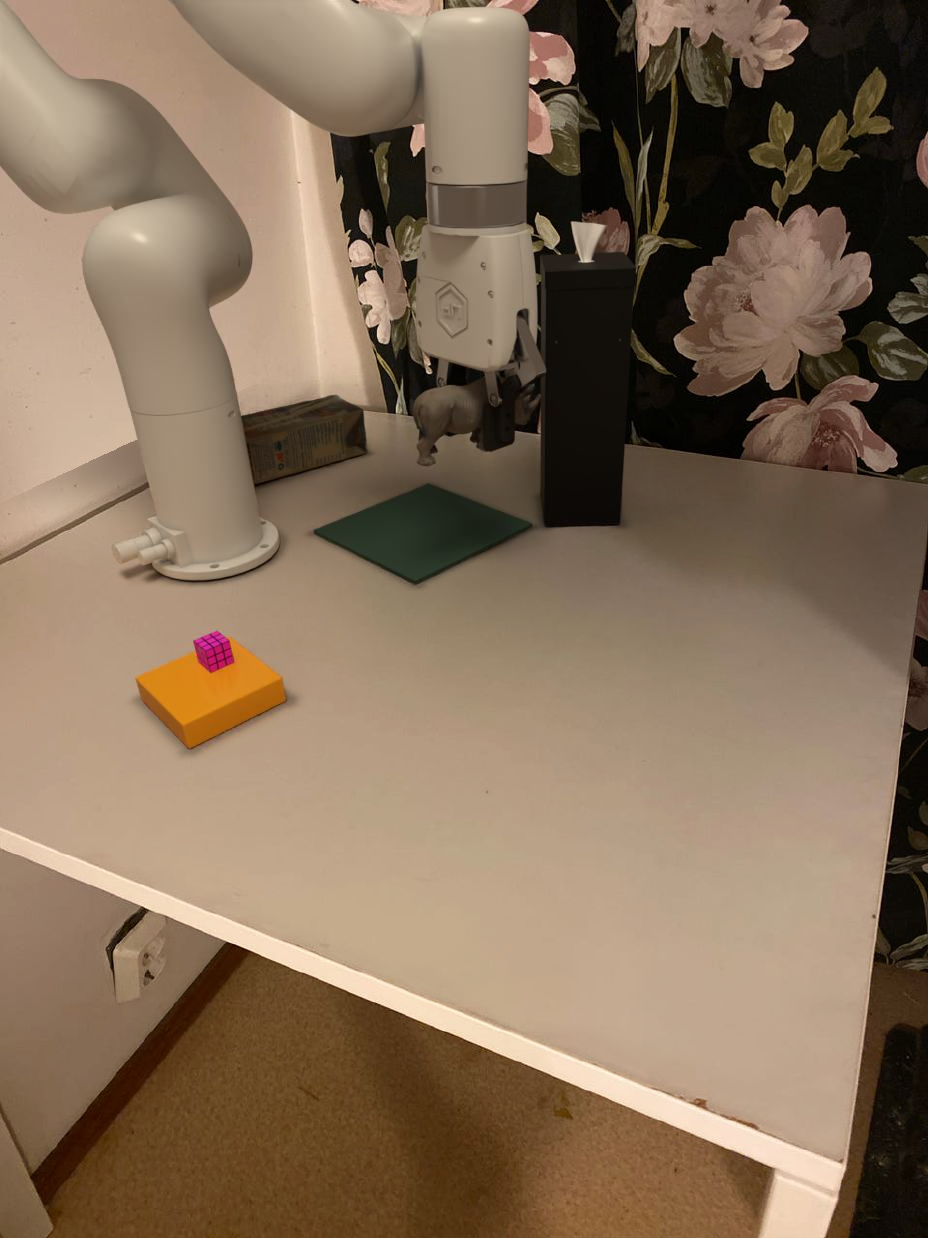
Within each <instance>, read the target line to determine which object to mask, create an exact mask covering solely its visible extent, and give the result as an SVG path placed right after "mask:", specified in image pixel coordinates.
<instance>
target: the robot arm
mask: <svg viewBox="0 0 928 1238" xmlns="http://www.w3.org/2000/svg"><path fill="white" fill-rule="evenodd" d="M168 1H169V2H170V3H171V5H172V6H174V8H175V9H176V10H177V12H178V14H179V15H180V17H181V18H182V19H183V20H184V21H185V22H186V23H187V24H188V25H189V26H190V27H191V28H192V29H193V30H194V31H195V32H196V34H197V35H199V36H200V37H201V39H202V40H203V41H204V42H205V43H206V44H207V45H208V46H209V47H210V48H211V49H212V50H213V51H214V52H215V53H216V54H218V55H219V56H220V57H221V58H222V59H223V60H224V61H225V62H227V63H228V64H229V65H230V66H231V67H233V68H234V69H235V70H236V71H237V72H239V73H241V75H243V76H244V77H246V78H247V79H248V80H249V81H251V82H252V83H254V84H255V85H256V86H258V87H259V88H261V89H262V90H263V91H265V92H266V93H267V94H268V95H270V96H271V97H272V98H274V99H275V100H277V101H278V102H280V103H281V104H283V105H284V106H285V107H287V108H288V109H289V110H291V111H292V112H293V113H295V114H296V115H298V116H299V117H300V118H302V119H304V121H306V122H308V123H310V124H311V125H313V126H315V127H317V128H319V129H321V130H322V131H326V132H328V133H331V134H333V135H337V136H339V137H340V136H342V137H349V138H350V137H359V136H365V135H370V134H375V133H382V132H387V131H391V130H392V131H393V130H397V129H401V128H407V127H411V126H416V125H417V126H418V125H423V129H424V130H423V131H424V158H425V181H426V185H425V186H426V191H425V200H426V211H427V213H426V214H427V216H426V217H427V224H425V225H423V226H422V229H421V234H420V239H419V247H418V254H417V265H416V281H415V284H416V285H415V287H416V288H415V328H416V329H415V333H416V341H417V345H418V347H419V349H420V350H421V351H422V353H423V354H424V355H425V356H426V358H427V359H429V361H428V362H429V363H430V366H431V367H432V369H433V371H434V373H435V375H436V385H437V388H438V387H443V386H447V385H455V386H464V385H468V384H470V383H471V382H469V380H470V375H471V369H473V370H476V371H480V372H483V373H484V377H485V380H486V387H487V393H488V400H489V403H488V404H485V405H484V407H483V447H484V450H486V451H489V452H488V453H492V452H494V451H497V450H500V449H504V448H506V447H509V446H511V445H513V444H514V443H515V440H516V423H515V400H518V399H520V398H521V397H522V393H523V392H524V391H525V390H526V389H527V388H528V387H529V386H530V385H532V384H535V382H536V381H538V380H541V377H543V376H544V375H545V374H546V367H545V365H544V362H543V360H542V357H541V352H540V350H539V349H538V346H537V340H538V339H537V338H538V288H537V287H538V286H537V274H536V273H537V272H536V261H535V254H534V247H533V240H532V234H531V230H530V229H527V216H528V213H527V211H528V210H527V208H528V160H529V159H528V157H529V156H528V155H529V154H528V153H529V146H528V145H529V144H528V143H529V113H530V112H529V109H530V107H529V104H530V103H529V102H530V58H531V54H530V53H531V42H530V41H531V40H530V39H531V38H530V37H531V36H530V28H529V25H528V21H527V20H526V18H525V16H524V15H522V13H521V12H519V11H517V10H515V9H513V8H508V7H499V6H497V7H496V6H468V7H467V6H466V7H451V8H444V9H439V10H437V11H435V12H433V13H431V14H430V15H429V16H424V15H413V14H407V13H400V12H394V11H390V10H385V9H381V8H376V7H372V6H368V5H364V4H358V3H356V2H354V1H353V0H168ZM0 168H1V169H2V171H4V172H5V174H6V175H7V176H8V177H9V178H10V180H11V181H12V182H13V184H15V185H16V186H17V188H19V189H20V190H21V192H22V193H23V194H24V195H25V196H26V197H27V198H29V199H30V200H31V201H32V202H33V203H35V205H37V206H39V207H40V208H42V209H44V210H46V211H48V212H51V213H54V214H62V215H73V214H81V213H87V212H92V211H97V210H101V209H104V208H105V209H106V208H108V207H111V208H112V210H113V211H112V212H110V213H109V214H107V215H106V216H105V217H102V218H101V219H100V220H99V222H98V223H97V224H95V225H94V227H93V229H92V230H91V231H90V232H89V235H88V236H87V239H86V241H85V244H84V247H83V253H82V260H81V261H82V262H81V263H82V265H81V266H82V273H83V274H82V275H83V279H84V284H85V288H86V291H87V293H88V297H89V299H90V302H91V303H92V305H93V308H94V310H95V312H96V315H97V317H98V319H99V321H100V323H101V326H102V327H103V330H104V332H105V335H106V337H107V339H108V342H109V345H110V347H111V350H112V352H113V355H114V359H115V363H116V366H117V369H118V372H119V375H120V380H121V382H122V386H123V391H124V394H125V398H126V402H127V406H128V408H129V411H130V415H131V420H132V423H133V428H134V432H135V435H136V439H137V444H138V447H139V451H140V455H141V459H142V463H143V467H144V470H145V475H146V478H147V483H148V486H149V490H150V495H151V499H152V502H153V506H154V511H155V515H153V516H151V517H148V518H147V524H148V528H147V529H144V530H142V531H141V535H138V536H135V537H133V538H127V539H125V540H122V541H119V542H116V543H114V544H112V545H111V551H112V554H113V556H114V559H115V560H116V562H117V563H118V564H120V565H122V564H125V563H127V562H130V561H132V560H135V559H138V561H139V563H140V564H141V565H142V566H146V565H149V564H151V565H152V567H153V568H154V569H155V570H156V572H158V573H160V574H162V575H163V576H165V577H168V578H172V579H176V580H182V581H209V580H210V581H211V580H218V579H223V578H228V577H233V576H237V575H239V574H243V573H245V572H248V571H250V570H253V569H255V568H257V567H259V566H260V565H262V564H264V563H266V562H267V561H268V560H269V559H271V558H272V557H273V556H274V555H275V554H276V552H278V549H279V547H280V543H281V539H280V538H281V537H280V533H279V529H278V528H277V526H276V525H275V524H273V523H272V522H271V521H269V520H267V519H264V518H263V517H261V516H260V511H259V505H258V501H257V500H258V499H257V495H256V489H255V484H254V483H253V478H252V472H251V467H250V461H249V456H248V451H247V445H246V440H245V434H244V429H243V423H242V418H241V416H242V413H241V408H240V407H241V406H240V402H239V396H238V392H237V387H236V382H235V378H234V377H235V376H234V372H233V368H232V365H231V361H230V357H229V354H228V351H227V349H226V346H225V344H224V342H223V339H222V338H221V335H220V333H219V331H218V329H217V327H216V325H215V323H214V320H213V317H212V314H211V311H210V309H211V308H212V307H215V306H216V305H218V304H220V303H222V302H224V301H226V300H228V299H229V298H231V297H233V296H234V295H235V294H237V293H238V292H239V291H240V290H241V289H242V288H243V286H245V284H246V282H247V280H248V279H249V276H250V274H251V272H252V266H253V257H254V256H253V254H254V252H253V246H252V245H253V244H252V241H251V238H250V237H251V236H250V234H249V231H248V229H247V227H246V225H245V223H244V221H243V219H242V217H241V216H240V214H239V213H238V210H236V208H235V206H234V205H233V203H232V202H231V201H230V199H229V198H228V197H227V196H226V194H225V193H224V191H223V190H221V188H220V187H219V185H218V184H217V183H216V181H215V180H214V179H213V177H212V176H211V175H210V173H208V171H207V170H206V169H205V167H204V166H203V165H202V164H201V162H200V161H199V159H198V158H197V157H196V156H195V155H194V153H193V152H192V151H191V149H190V148H189V147H188V145H187V144H186V143H185V142H184V140H183V139H182V137H180V135H179V134H178V133H177V131H176V130H175V129H174V127H173V126H172V125H171V124H170V122H168V120H167V119H166V118H165V116H164V115H163V114H162V113H161V112H160V111H159V110H158V108H156V107H155V106H154V104H152V102H150V101H149V100H147V99H146V98H145V97H144V96H142V95H141V94H140V93H138V92H137V91H136V90H134V89H132V88H130V87H129V86H127V85H125V84H122V83H121V82H120V83H119V82H117V81H113V80H109V79H104V78H78V77H75V76H73V75H71V74H69V73H68V72H66V70H64V69H63V68H62V67H61V66H60V65H59V64H58V63H57V61H55V60H54V59H53V58H52V57H51V55H49V53H48V52H47V51H46V50H45V48H44V47H43V46H42V45H41V44H40V43H39V41H38V40H37V39H36V38H35V36H33V34H32V33H31V32H30V31H29V29H28V28H27V26H26V25H25V23H24V22H23V21H22V20H21V18H20V17H19V16H18V14H17V13H16V12H15V11H14V10H13V9H12V8H11V7H10V6H9V4H8V3H7V2H5V0H0ZM500 373H504V377H505V378H504V379H506V380H505V381H504V382H503V383H502V384H501V381H500V377H501V376H500ZM457 435H458V434H455V433H451V432H448V431H447V432H446V434H445V435H444V436H445V437H446V436H447V437H450V438H452V437H454V436H457Z"/></svg>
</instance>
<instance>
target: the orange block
mask: <svg viewBox="0 0 928 1238" xmlns="http://www.w3.org/2000/svg"><path fill="white" fill-rule="evenodd" d="M192 641H193V642H192V643H193V647H194V650H195V651H193V652H190V653H188V654H186V655H183V656H181V657H179V658H176V659H174V660H172V661H169V662H167V663H164V664H163V665H160V666H158V667H155V668H152V669H151V670H149V671H147V672H144V673H142V674H140V675H137V676H135V678H134V679H135V681H136V686H137V688H138V693H139V695H140V696H139V697H140V700H141V701H142V702H143V703H144V704H145V705H146V706H147V708H148V709H150V710H151V711H152V712H153V714H155V716H157V718H158V719H159V720H160V721H161V722H162V723H163V724H164V725H165V726H166V727H167V728H168V729H169V730H170V731H171V732H172V733H173V734H174V735H175V736H176V737H177V738H178V739H179V740H180V741H181V742H182V743H183V744H184V746H185V747H186V748H188V749H192V748H195V747H197V746H198V745H200V744H202V743H204V742H206V741H208V740H210V739H212V738H214V737H216V736H218V735H220V734H222V733H224V732H226V731H229V730H230V729H233V728H234V727H236V726H239V725H241V724H243V723H245V722H246V721H248V720H249V721H250V719H252V718H255V717H258V715H260V714H262V713H265V712H267V711H268V710H271V709H273V708H275V707H277V706H278V705H281V704H283V703H285V702H287V696H286V690H285V686H284V680H283V676H281V675H280V674H279V673H277V672H276V671H275V670H273V668H272V667H270V666H269V665H268V664H266V663H265V662H264V661H262V660H261V659H260V658H258V657H257V656H256V655H254V654H253V653H252V652H251V651H250V650H248V649H247V648H245V646H243V645H242V644H241V643H239V642H238V641H237V640H236V639H235V638H233V637H232V636H227V637H226V636H225V635H223V634H222V633H221V632H220V631H218V630H214V631H211V633H208V634H206V635H203V636H201V637H198V638H195V639H193V640H192Z"/></svg>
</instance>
